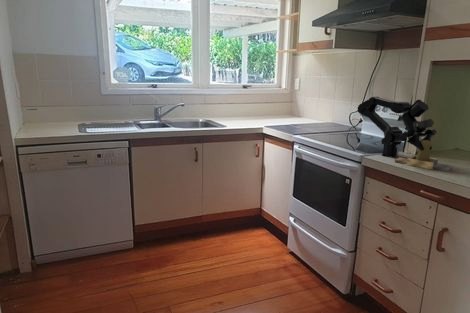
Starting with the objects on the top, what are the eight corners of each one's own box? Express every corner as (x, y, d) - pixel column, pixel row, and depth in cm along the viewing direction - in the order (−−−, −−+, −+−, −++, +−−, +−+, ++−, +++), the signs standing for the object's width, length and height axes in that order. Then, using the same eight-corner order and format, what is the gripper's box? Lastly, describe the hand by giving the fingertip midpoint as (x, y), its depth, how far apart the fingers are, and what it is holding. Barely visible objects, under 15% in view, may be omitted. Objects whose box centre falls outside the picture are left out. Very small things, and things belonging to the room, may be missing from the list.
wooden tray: (393, 162, 168) (394, 156, 167) (400, 158, 176) (401, 153, 175) (447, 172, 154) (448, 165, 153) (451, 167, 162) (452, 161, 161)
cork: (422, 160, 169) (425, 138, 166) (432, 163, 163) (436, 141, 160) (412, 161, 167) (415, 139, 164) (422, 164, 161) (426, 141, 158)
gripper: (408, 113, 159) (425, 141, 152) (437, 112, 166) (454, 139, 159) (392, 127, 168) (407, 154, 161) (420, 126, 175) (436, 152, 168)
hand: (426, 149), depth 162 cm, fingers closed on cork, 5 cm apart
